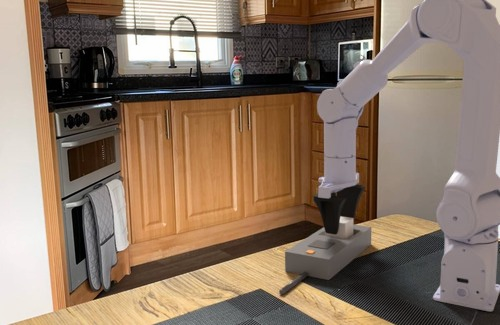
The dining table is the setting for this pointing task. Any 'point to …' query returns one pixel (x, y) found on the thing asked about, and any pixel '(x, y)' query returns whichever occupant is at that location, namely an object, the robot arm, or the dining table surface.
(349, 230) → the plug
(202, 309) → the dining table surface
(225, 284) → the dining table surface
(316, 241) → the power strip
